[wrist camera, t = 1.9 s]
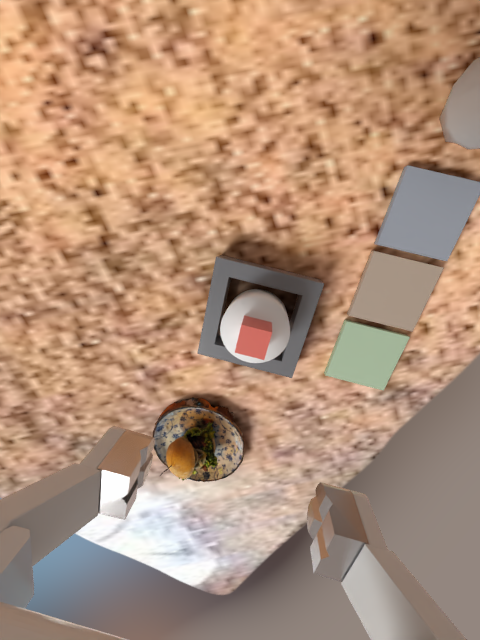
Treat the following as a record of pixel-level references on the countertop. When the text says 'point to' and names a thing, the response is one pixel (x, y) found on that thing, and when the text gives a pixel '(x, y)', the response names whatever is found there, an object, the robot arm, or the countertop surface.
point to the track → (401, 273)
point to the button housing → (269, 277)
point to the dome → (255, 326)
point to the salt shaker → (464, 109)
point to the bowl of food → (198, 440)
